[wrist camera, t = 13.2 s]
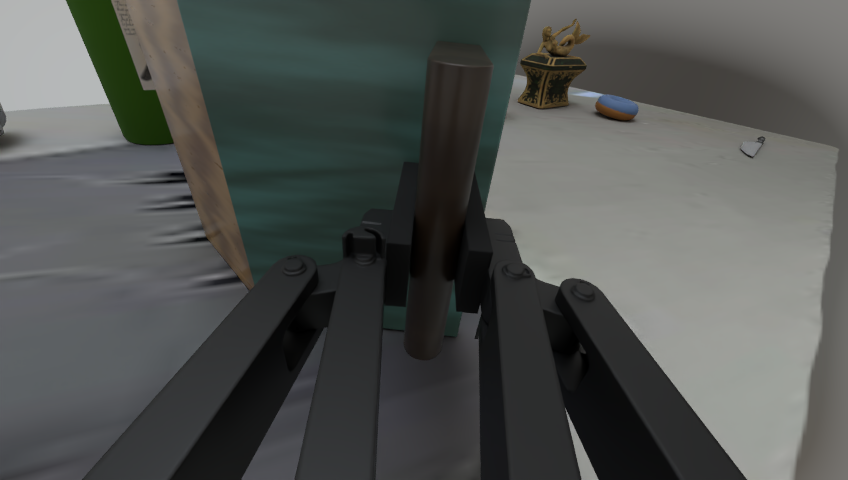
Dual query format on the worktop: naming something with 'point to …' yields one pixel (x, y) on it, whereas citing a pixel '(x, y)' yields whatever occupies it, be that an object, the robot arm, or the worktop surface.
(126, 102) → the wine bottle
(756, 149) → the chef's knife
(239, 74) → the door
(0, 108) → the mechanical valve
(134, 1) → the cabinet
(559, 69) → the decorative box
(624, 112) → the doughnut
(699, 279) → the worktop surface
